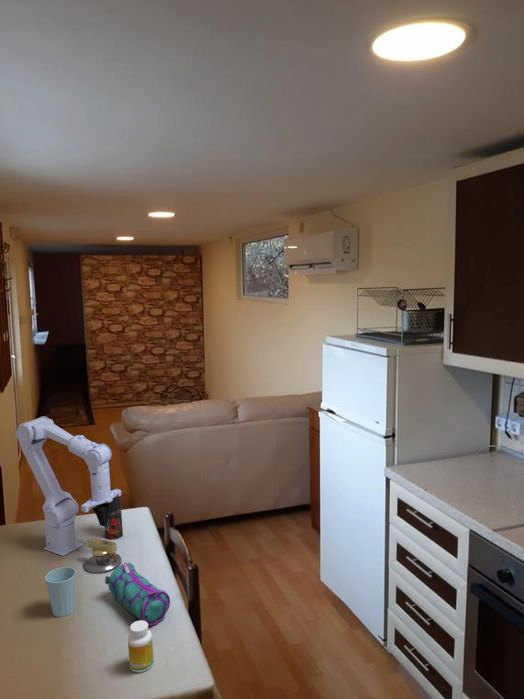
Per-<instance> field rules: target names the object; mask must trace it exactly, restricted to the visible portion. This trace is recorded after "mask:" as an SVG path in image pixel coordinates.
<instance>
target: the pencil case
mask: <svg viewBox="0 0 524 699" xmlns="http://www.w3.org/2000/svg"><path fill="white" fill-rule="evenodd" d="M104 582H105V585H107V586H108V590H109V592H111V595H112V596H113V597H114V598H115V599H116V600H117V601H118V602H119V603H120V604H121V605H122V606H124V607H125V609H126V610H128V612H130V613H131V614H132V615H133V616H135V617H136V618H137V619H139V621H140V620H142V621H146V622H147V623H148V627H153V626H156V625H158V624H159V623H160V622H161V620H162V619H163V618H165V616H166V614H167V612H168V611H169V609H170V606H171V605H170V604H171V599H170V598H171V597H170V595H169V594H168V593H167V591H165V590H161V589H159V588H158V587H157V586H155V585H153V583H151V582H150V581H149V579H147V578H145V577H144V576H143V575H142V574H140V573H138V571H136V568H135V565H134V564H133V563H131V562H125V563H121V564H120V566H119V567H117V568H116V569H114V570H112V571H111V574H110V576H109V575H108V576H105V578H104Z"/></svg>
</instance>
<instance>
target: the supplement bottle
mask: <svg viewBox="0 0 524 699" xmlns="http://www.w3.org/2000/svg"><path fill="white" fill-rule="evenodd" d="M129 631H130V632H129V635H128V637H127V649H128V662H129V668H130V670H132V672H135V673H144V672H147V671H148V670H150V669H151V668H152V667H153V665H154V643H153V634H152V632H151V631H150V629H149V626H148V623H147V622H146V621H142V620H140V619H139V620H136V621H134V622H132V623H131V624H130V627H129ZM146 670H147V671H146Z"/></svg>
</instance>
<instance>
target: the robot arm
mask: <svg viewBox="0 0 524 699" xmlns="http://www.w3.org/2000/svg"><path fill="white" fill-rule="evenodd" d="M15 436H16V438H17V441H18V442H19V444H20V447H21V451H22V453H23V455H24V457H25V459H26V461H27V463H28V465H29V467H30V470H31V471H32V473H33V476H34V478H35V479H36V481H37V484H38V486H39V487H40V488H39V489H40V490H41V492H42V494H43V496H44V497H45V502H44V503H43V505H42V508H41V509H42V510H43V514H44V520H45V522H46V523H47V524H46V525H45V528H44V533H45V545H46V546H45V547H44V550H46V551H48V552H52V553H54V554H57V555H59V556H63V557H65V555H67V554H70V553H71V552H73V551H75V550H78V549H79V548H81V547H82V546H83V543H81V542H78V541H77V537H76V535H77V534H76V525H75V524H76V523H75V520H76V518H77V517H76V515H77V514H78V512H79V509H81V512H82V513H89V511H90V510H92V511H93V512H94V514H95V516H96V518H97V520H98V523H99V525H100V526H101V527H104V526H106V525H108V519H109V515H110V512H111V509H112V507H113V505H114V503H113V502H112V501H113V498H115V497H117V496H120V497H121V496H122V490H121V489H119V488H115V489H113V490H111V479H110V478H111V477H110V475H111V474H110V465H109V461H110V460H111V459H112V456H113V452H112V450H111V447H110V446H108V445H107V444H106V443H100V444H99V443H96V442H95V441H91V440H89V438H86V437H85V436H84V435H83V434H81V435H79V434H78V435H72V434H71V433H69V432H67V431H66V430H64V429H63V428H61V427H59V426H58V425H57V424H55V423H54V420H53V419H51V418H49V417H47V416H40V417H38V418H35V419H32V420H29V421H27V422H22V423H20V424H19V425H18V427H17V429H16V432H15ZM47 439H50V440H53V441H56V442H57V443H60V444H61V445H64V446H66V447H67V449H68V451H69V452H70V453H71V454H74V455H76V456H77V457H79V458H81V459H83V460H84V462H85V464H86V465H87V467H88V471H89V475H90V487H91V498H90V499H88V500H87V501H86V502H85V503H83V504H81V506H80V508H79V504H78V502H77V501H76V500H75V499H74V498H73V496H72V495H71V493H69V492H67V491H64V490H62V488H61V485H60V484H59V481H58V480H57V477H56V475H55V473H54V471H53V469H52V466H51V465H50V462H49V461H48V459H47V457H46V455H45V452H44V450H43V449H42V448H43V444H44V442H46V440H47Z"/></svg>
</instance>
